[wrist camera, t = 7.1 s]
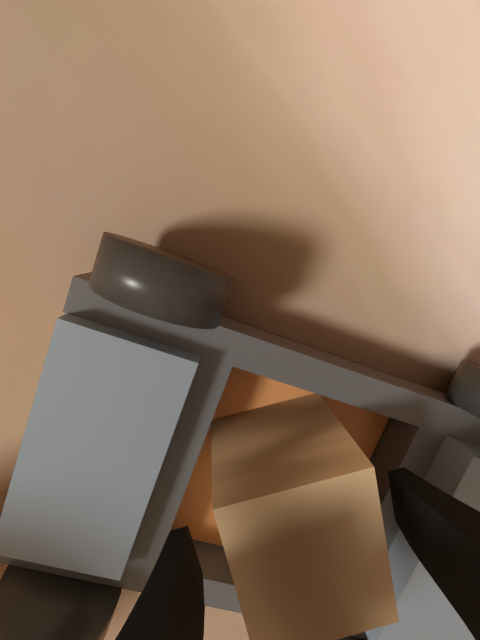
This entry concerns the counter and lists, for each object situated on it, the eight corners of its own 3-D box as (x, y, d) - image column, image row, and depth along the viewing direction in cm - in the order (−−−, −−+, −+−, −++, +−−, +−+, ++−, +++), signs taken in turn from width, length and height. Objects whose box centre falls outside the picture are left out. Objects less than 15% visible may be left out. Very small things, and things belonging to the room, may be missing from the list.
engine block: (317, 392, 14) (374, 467, 10) (339, 504, 16) (399, 621, 11) (210, 419, 14) (212, 509, 9) (240, 531, 15) (256, 662, 11)
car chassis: (531, 383, 16) (646, 432, 12) (397, 634, 18) (454, 749, 14) (106, 228, 13) (58, 219, 9) (10, 551, 15) (-65, 666, 11)
